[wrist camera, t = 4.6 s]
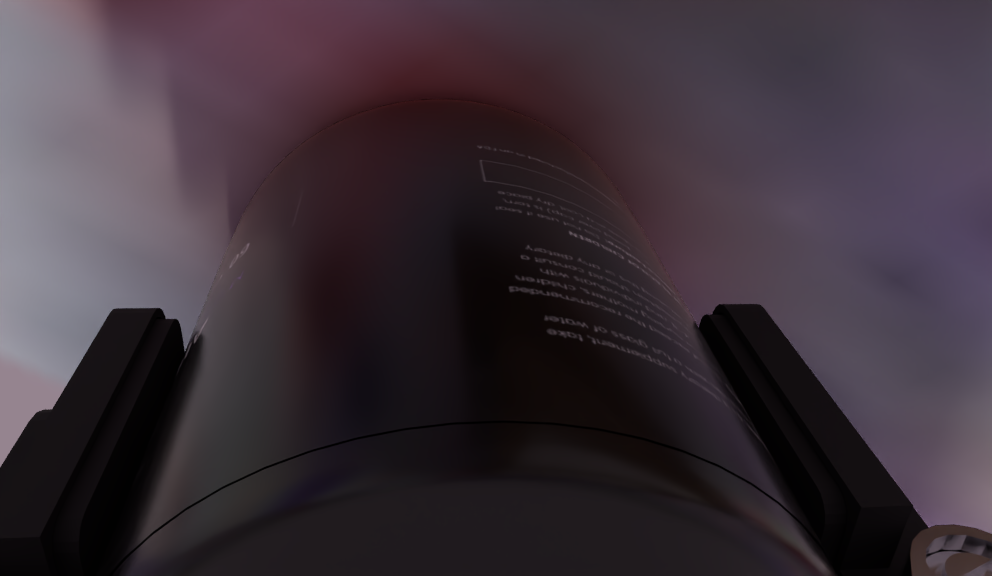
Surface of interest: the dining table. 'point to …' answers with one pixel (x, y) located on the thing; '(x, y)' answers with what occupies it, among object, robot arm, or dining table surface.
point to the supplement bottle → (451, 380)
